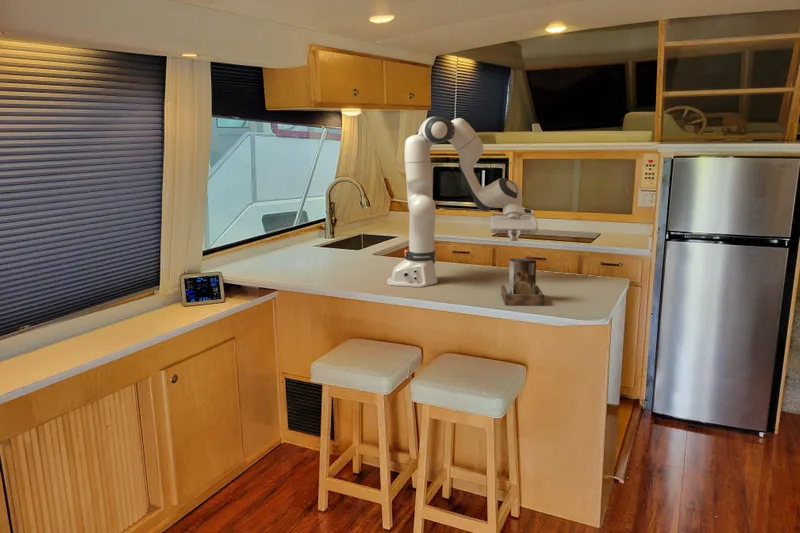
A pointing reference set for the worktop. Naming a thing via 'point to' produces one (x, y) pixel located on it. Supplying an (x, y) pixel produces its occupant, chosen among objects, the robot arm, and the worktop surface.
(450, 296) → the worktop surface
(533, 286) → the coffee box
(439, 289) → the worktop surface
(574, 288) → the worktop surface
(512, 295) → the box
